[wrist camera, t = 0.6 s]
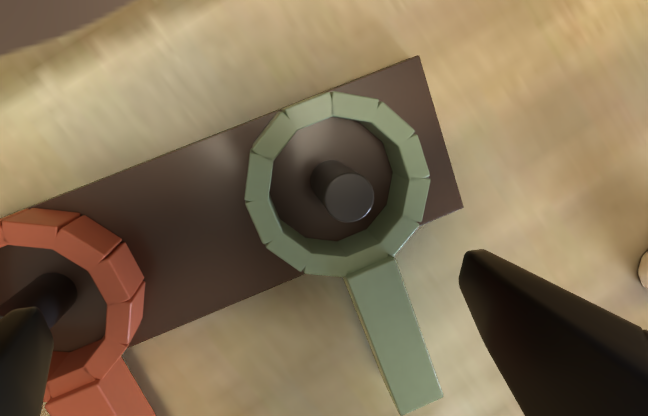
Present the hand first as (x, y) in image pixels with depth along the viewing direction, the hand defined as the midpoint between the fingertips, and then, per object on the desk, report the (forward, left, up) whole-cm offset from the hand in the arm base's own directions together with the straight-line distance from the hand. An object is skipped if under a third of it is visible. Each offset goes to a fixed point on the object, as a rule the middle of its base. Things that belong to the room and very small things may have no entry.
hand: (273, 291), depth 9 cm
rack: (-1, +4, -13) cm, 13 cm away
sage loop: (-5, -3, -12) cm, 13 cm away
